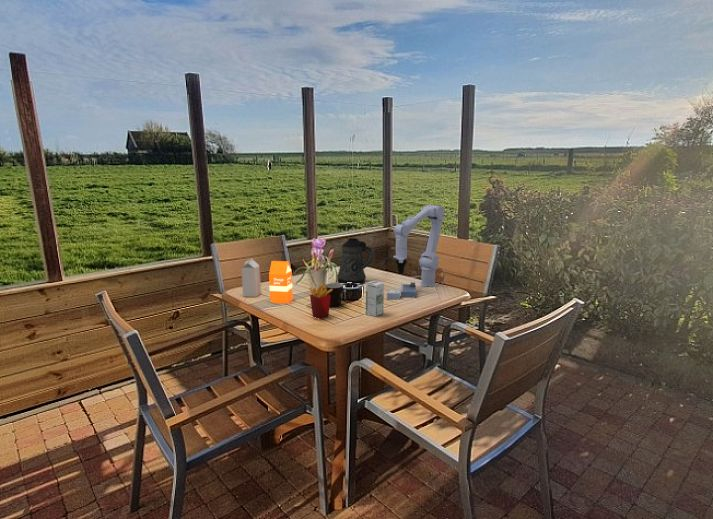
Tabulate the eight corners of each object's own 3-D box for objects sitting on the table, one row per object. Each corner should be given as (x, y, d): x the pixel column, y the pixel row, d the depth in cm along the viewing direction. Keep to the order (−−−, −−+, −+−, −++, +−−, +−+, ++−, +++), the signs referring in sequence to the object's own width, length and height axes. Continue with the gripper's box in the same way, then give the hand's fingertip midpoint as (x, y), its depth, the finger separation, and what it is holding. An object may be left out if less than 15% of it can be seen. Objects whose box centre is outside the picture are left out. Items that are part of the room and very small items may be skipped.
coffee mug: (335, 309, 194) (335, 288, 192) (321, 306, 199) (321, 285, 197) (351, 303, 203) (351, 283, 201) (337, 300, 208) (337, 280, 206)
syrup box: (373, 311, 192) (373, 280, 189) (383, 313, 188) (384, 282, 185) (365, 314, 188) (365, 282, 185) (376, 317, 184) (376, 284, 181)
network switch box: (401, 289, 226) (401, 281, 225) (415, 290, 225) (415, 282, 224) (400, 297, 212) (401, 288, 211) (415, 297, 211) (416, 289, 210)
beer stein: (334, 279, 248) (333, 237, 243) (365, 276, 254) (365, 235, 249) (341, 286, 233) (340, 241, 228) (374, 283, 238) (374, 239, 233)
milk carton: (261, 293, 221) (259, 257, 217) (256, 297, 214) (254, 260, 210) (247, 293, 221) (245, 257, 218) (243, 296, 215) (240, 260, 211)
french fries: (309, 316, 185) (308, 283, 182) (324, 312, 191) (323, 280, 187) (322, 321, 179) (322, 287, 176) (337, 316, 184) (336, 283, 181)
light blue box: (387, 295, 215) (387, 289, 215) (400, 295, 214) (400, 290, 214) (386, 299, 209) (386, 293, 209) (399, 299, 209) (399, 293, 208)
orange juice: (287, 303, 203) (285, 263, 199) (270, 302, 205) (268, 262, 201) (292, 298, 211) (291, 259, 207) (276, 298, 212) (274, 259, 208)
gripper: (393, 245, 224) (393, 270, 227) (393, 250, 210) (392, 276, 213) (407, 245, 224) (406, 270, 226) (407, 250, 209) (406, 277, 212)
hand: (400, 273), depth 220 cm, fingers closed
